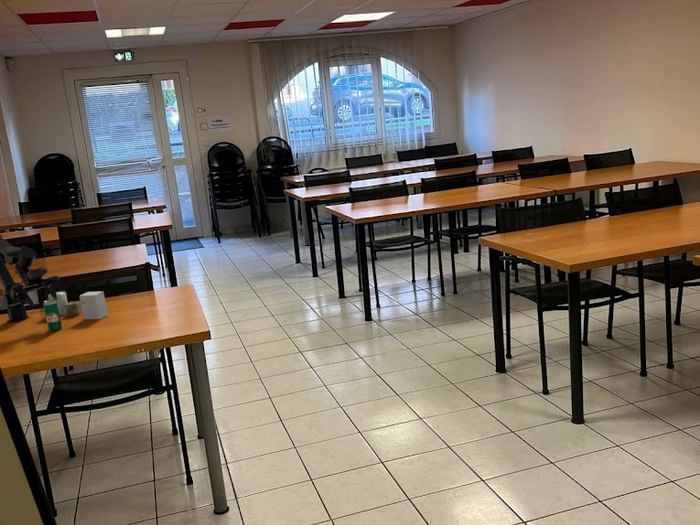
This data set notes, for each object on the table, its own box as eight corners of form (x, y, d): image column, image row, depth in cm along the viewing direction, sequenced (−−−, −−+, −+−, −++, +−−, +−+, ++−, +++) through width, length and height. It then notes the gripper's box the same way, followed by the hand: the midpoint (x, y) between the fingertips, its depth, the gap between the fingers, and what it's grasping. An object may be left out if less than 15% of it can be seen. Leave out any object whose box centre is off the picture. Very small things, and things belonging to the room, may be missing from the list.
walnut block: (67, 316, 280) (65, 305, 279) (71, 313, 285) (69, 302, 284) (79, 315, 280) (77, 304, 279) (83, 311, 285) (81, 300, 284)
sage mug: (68, 314, 283) (64, 294, 281) (51, 317, 281) (47, 297, 279) (70, 309, 291) (66, 290, 289) (53, 312, 289) (49, 292, 287)
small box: (108, 315, 275) (104, 291, 273) (100, 319, 270) (95, 295, 268) (92, 315, 278) (87, 291, 275) (83, 319, 272) (79, 295, 270)
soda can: (47, 332, 259) (41, 303, 256) (49, 329, 263) (43, 300, 261) (61, 330, 260) (55, 301, 257) (63, 326, 265) (57, 298, 262)
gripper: (6, 266, 255) (25, 296, 250) (53, 256, 268) (71, 284, 264) (2, 284, 261) (20, 314, 257) (47, 273, 275) (66, 301, 271)
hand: (45, 302), depth 262 cm, fingers open, 9 cm apart
